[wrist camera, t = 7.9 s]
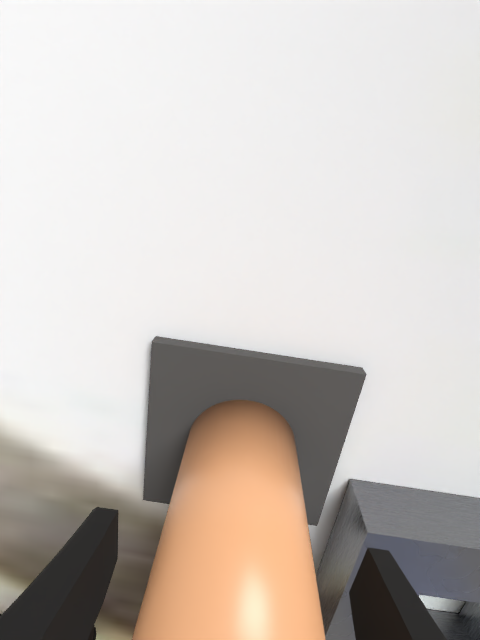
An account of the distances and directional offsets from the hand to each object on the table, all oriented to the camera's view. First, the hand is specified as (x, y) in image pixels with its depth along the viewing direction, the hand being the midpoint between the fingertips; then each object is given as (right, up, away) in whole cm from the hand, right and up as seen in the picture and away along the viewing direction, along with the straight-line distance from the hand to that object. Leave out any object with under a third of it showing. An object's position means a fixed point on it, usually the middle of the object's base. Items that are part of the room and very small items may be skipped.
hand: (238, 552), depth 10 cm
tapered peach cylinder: (0, +2, +4) cm, 4 cm away
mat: (0, +2, +5) cm, 5 cm away
